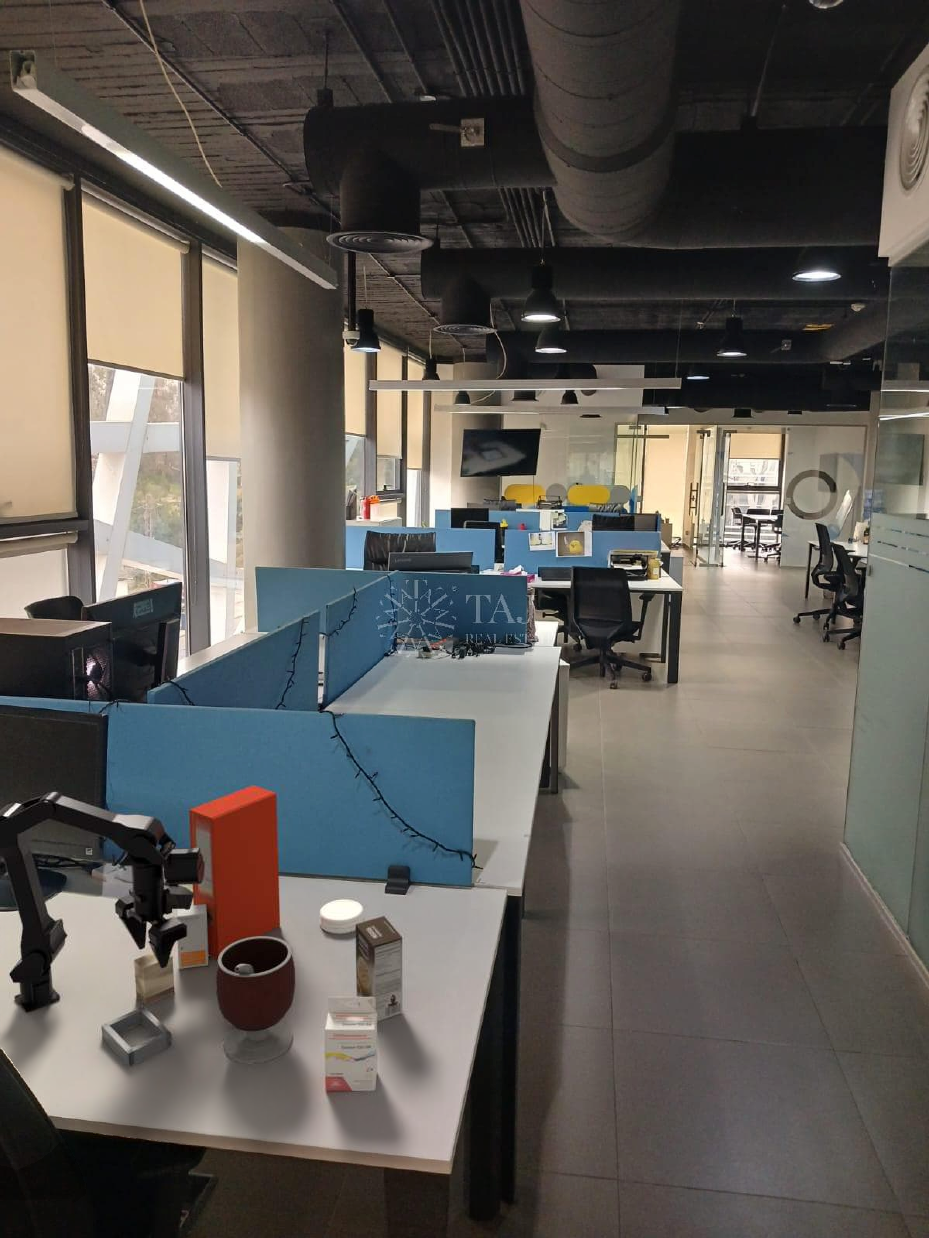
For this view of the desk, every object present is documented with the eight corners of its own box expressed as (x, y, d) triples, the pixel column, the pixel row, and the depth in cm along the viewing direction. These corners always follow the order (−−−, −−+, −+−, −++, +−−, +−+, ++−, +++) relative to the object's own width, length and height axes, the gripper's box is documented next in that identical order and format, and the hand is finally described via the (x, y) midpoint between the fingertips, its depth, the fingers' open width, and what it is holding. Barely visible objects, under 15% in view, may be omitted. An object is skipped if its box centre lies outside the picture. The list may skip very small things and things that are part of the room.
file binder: (281, 926, 198) (276, 792, 193) (219, 960, 185) (213, 818, 179) (256, 915, 203) (251, 784, 197) (195, 948, 189) (188, 809, 183)
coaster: (348, 939, 194) (347, 924, 193) (311, 928, 198) (310, 914, 197) (372, 918, 203) (371, 904, 202) (336, 908, 207) (335, 894, 206)
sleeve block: (136, 996, 172) (133, 959, 171) (165, 984, 176) (162, 947, 175) (145, 1005, 169) (143, 968, 168) (174, 992, 174) (172, 955, 172)
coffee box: (355, 997, 172) (353, 922, 169) (384, 988, 175) (383, 914, 172) (373, 1023, 164) (372, 945, 161) (404, 1013, 167) (403, 936, 164)
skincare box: (178, 970, 181) (175, 916, 179) (179, 958, 185) (176, 906, 183) (209, 965, 183) (206, 912, 181) (209, 954, 187) (206, 903, 185)
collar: (102, 1037, 160) (101, 1025, 159) (144, 1018, 165) (143, 1006, 165) (129, 1066, 152) (128, 1053, 152) (172, 1044, 158) (171, 1032, 157)
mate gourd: (235, 1014, 167) (231, 917, 163) (306, 1019, 165) (303, 922, 162) (202, 1069, 152) (197, 964, 148) (280, 1076, 150) (276, 970, 146)
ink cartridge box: (324, 1092, 146) (322, 1013, 144) (328, 1072, 151) (326, 995, 149) (376, 1091, 147) (375, 1012, 144) (378, 1071, 151) (377, 994, 149)
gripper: (210, 886, 168) (214, 960, 171) (164, 855, 181) (168, 925, 183) (155, 906, 160) (160, 984, 163) (111, 872, 173) (116, 945, 176)
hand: (152, 957), depth 171 cm, fingers open, 9 cm apart
